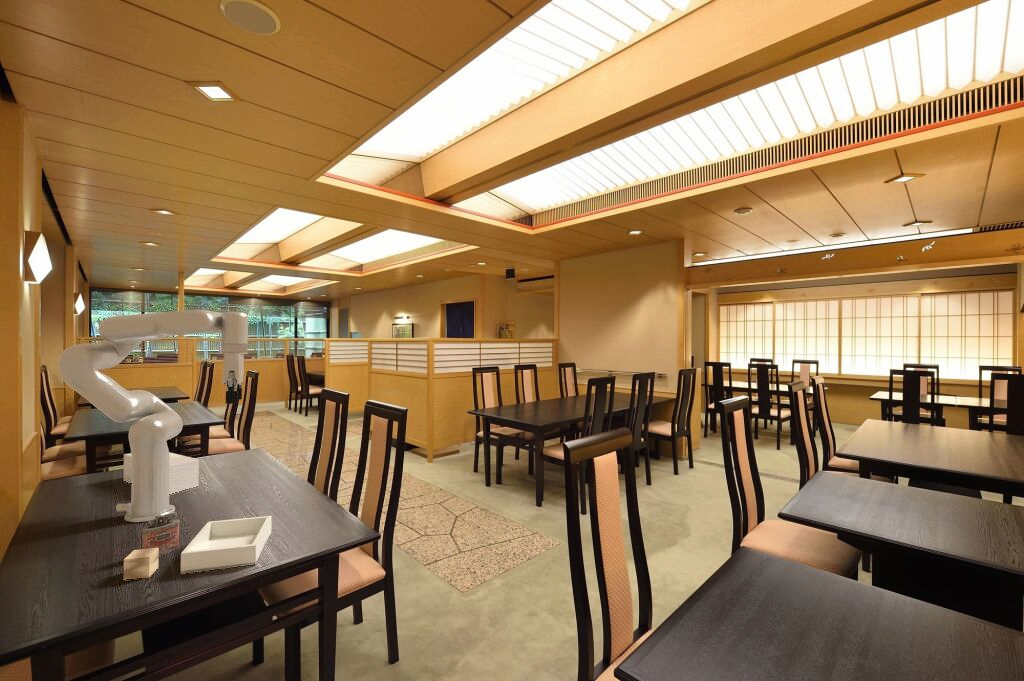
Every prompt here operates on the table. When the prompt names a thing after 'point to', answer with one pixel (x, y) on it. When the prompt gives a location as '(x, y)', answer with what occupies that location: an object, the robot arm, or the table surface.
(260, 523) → the tote
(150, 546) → the lighter
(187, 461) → the white long block
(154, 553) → the cube
